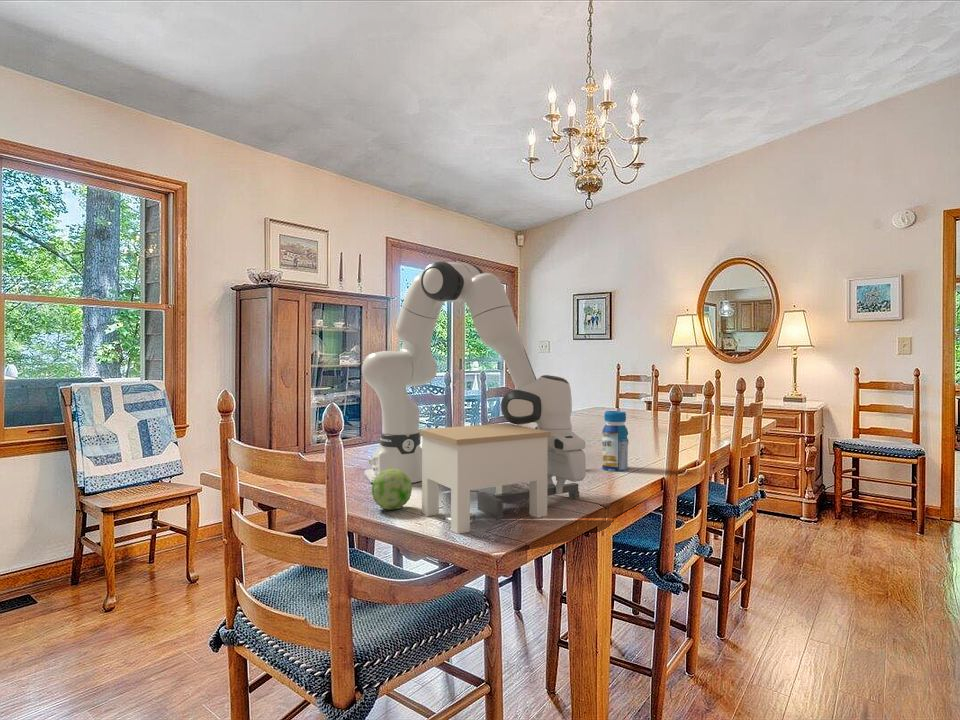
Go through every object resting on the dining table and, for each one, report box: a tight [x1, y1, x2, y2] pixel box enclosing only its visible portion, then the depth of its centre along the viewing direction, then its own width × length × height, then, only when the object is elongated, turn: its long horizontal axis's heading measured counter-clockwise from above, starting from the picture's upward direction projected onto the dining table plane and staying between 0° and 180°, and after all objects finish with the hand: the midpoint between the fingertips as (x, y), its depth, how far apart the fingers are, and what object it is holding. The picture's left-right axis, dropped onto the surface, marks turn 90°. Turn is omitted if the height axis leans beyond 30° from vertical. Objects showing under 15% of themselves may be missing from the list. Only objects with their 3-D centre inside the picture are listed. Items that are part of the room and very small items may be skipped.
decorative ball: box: [371, 469, 413, 511], centre depth 137 cm, size 10×10×10 cm
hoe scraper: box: [477, 482, 580, 520], centre depth 140 cm, size 28×9×4 cm, turn 121°
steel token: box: [444, 512, 476, 525], centre depth 129 cm, size 7×7×1 cm
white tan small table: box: [419, 422, 551, 535], centre depth 132 cm, size 19×25×20 cm
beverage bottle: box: [601, 410, 629, 473], centre depth 180 cm, size 8×8×20 cm
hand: (554, 492), depth 143 cm, fingers closed on hoe scraper, 2 cm apart
